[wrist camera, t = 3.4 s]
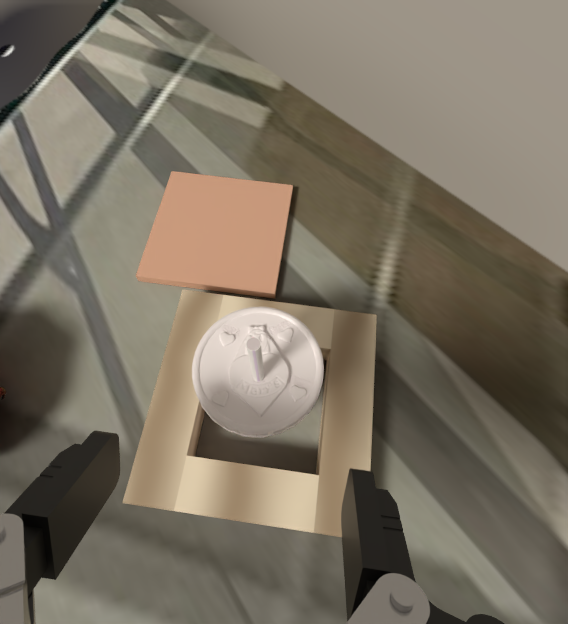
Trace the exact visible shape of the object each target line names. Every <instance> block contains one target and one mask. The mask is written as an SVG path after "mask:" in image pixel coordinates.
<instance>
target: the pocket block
mask: <svg viewBox="0 0 568 624" xmlns="http://www.w3.org/2000/svg"><path fill="white" fill-rule="evenodd" d="M249 307H270V308H275V309H279V310H282V311H284V312H287V313H289V314H291V315H293V316H294V317H296V318H297V319H299V320H300V321H301V322H302V323H304V324H305V325H306V326H307V327H308V328H309V330H310V331H311V332H312V334H313V335H314V337H315V338H316V340H317V342H318V344H319V347H320V349H321V353H322V357H323V360H327V362H326V372H325V383H324V393H323V404H322V414H321V425H320V435H319V445H318V456H317V466H316V475H314V474H307V473H300V472H294V471H287V470H280V469H274V468H267V467H260V466H254V465H247V464H240V463H233V462H227V461H220V460H213V459H207V458H200V457H195V455H196V450H197V446H198V441H199V437H200V432H201V428H202V423H203V418H204V414H205V410H204V409H203V408H202V406H201V403H200V401H199V399H198V397H197V395H196V392H195V389H194V385H193V380H192V363H193V358H194V354H195V351H196V348H197V346H198V344H199V342H200V340H201V339H202V337H203V335H204V334H205V333H206V332H207V330H208V329H209V328H210V327H211V326H212V325H213V324H214V323H215V322H217V321H218V320H219V319H221V318H222V317H224V316H226V315H228V314H230V313H232V312H234V311H237V310H240V309H244V308H249ZM376 322H377V315H374V314H367V313H359V312H351V311H344V310H336V309H328V308H321V307H313V306H305V305H297V304H290V303H282V302H274V301H267V300H259V299H251V298H244V297H236V296H228V295H221V294H213V293H205V292H197V291H190V290H182V294H181V297H180V301H179V304H178V308H177V311H176V315H175V318H174V322H173V325H172V329H171V333H170V336H169V340H168V343H167V347H166V350H165V354H164V357H163V361H162V365H161V368H160V372H159V375H158V379H157V382H156V386H155V389H154V393H153V396H152V400H151V404H150V407H149V411H148V414H147V418H146V421H145V425H144V428H143V432H142V436H141V439H140V443H139V446H138V450H137V453H136V457H135V460H134V464H133V467H132V471H131V475H130V478H129V482H128V485H127V489H126V492H125V496H124V499H123V503H126V504H133V505H139V506H145V507H152V508H158V509H165V510H171V511H178V512H184V513H190V514H197V515H203V516H210V517H216V518H223V519H229V520H235V521H242V522H248V523H255V524H261V525H267V526H274V527H280V528H287V529H293V530H300V531H306V532H312V533H319V534H325V535H332V536H338V537H342V529H341V511H342V503H343V498H344V493H345V488H346V483H347V478H348V473H349V470H350V468H352V469H359V470H366V471H370V468H371V443H372V419H373V395H374V370H375V346H376Z"/></svg>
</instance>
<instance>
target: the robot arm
mask: <svg viewBox="0 0 568 624" xmlns="http://www.w3.org/2000/svg"><path fill="white" fill-rule="evenodd" d="M119 475H120V453H119V437H118V435H117V434H115V433H108V432H101V431H94V432H92V433H91V434H90V435H89V436H88V438H87V439H86V440H85V441H84V442H83V443H82V445H80V444H74V445H72V446H71V447H69V448H67V449H66V450H64V451H62V452H61V453H59V454H58V456H57V457H56V458H55V459H54V460H53V461H52V462H51V463H50V464H49V467H46V469H45V470H44V471H43V472H42V473H41V474H40V476H39V477H37V478H36V479H35V480H34V482H33V483H32V484H31V485H30V486H29V487H28V488H27V489H26V490H25V491H24V492H23V493H22V495H21V496H20V497H19V498H18V499H17V500H16V501H15V502H14V503H13V504H12V505H11V506H10V508H9V509H8V510H7V511H6V512H5V513H4V514H0V624H36V622H35V602H34V590H33V589H34V587H35V586H36V584H37V583H38V581H39V580H40V579H41V577H42V578H48V579H55V580H56V578H57V577H58V575H59V574H60V572H61V571H62V569H63V568H64V566H65V564H66V563H67V561H68V560H69V558H70V557H71V555H72V554H73V552H74V551H75V549H76V547H77V546H78V544H79V543H80V541H81V540H82V538H83V537H84V535H85V534H86V532H87V530H88V529H89V527H90V526H91V524H92V523H93V521H94V520H95V518H96V516H97V515H98V513H99V512H100V510H101V509H102V507H103V506H104V504H105V503H106V501H107V499H108V498H109V496H110V495H111V493H112V492H113V490H114V488H115V487H116V484H117V482H118V479H119ZM341 529H342V545H343V560H344V576H345V591H346V607H347V623H346V624H504V623H503V622H501V621H500V620H498V619H496V618H494V617H492V616H488V615H484V614H477V615H473V616H472V617H470V618H469V619H468V620H467V622H465V621H462V620H460V619H458V618H456V617H454V616H452V615H450V614H448V613H446V612H444V611H442V610H440V609H439V608H437V607H436V606H434V605H433V604H432V603H431V602H430V601H428V599H427V597H426V595H425V593H424V592H423V590H422V589H421V588H420V587H419V585H418V584H417V583H416V581H415V578H414V574H413V570H412V566H411V562H410V557H409V553H408V549H407V545H406V541H405V536H404V533H403V528H402V524H401V521H400V515H399V511H398V507H397V503H396V502H395V500H394V499H393V497H392V496H391V495H390V493H389V492H388V490H383V489H376V486H375V481H374V475H373V472H372V471H366V470H359V469H352V468H350V470H349V473H348V478H347V483H346V488H345V493H344V498H343V503H342V511H341Z"/></svg>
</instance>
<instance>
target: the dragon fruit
mask: <svg viewBox="0 0 568 624" xmlns="http://www.w3.org/2000/svg"><path fill="white" fill-rule="evenodd" d="M5 394H6V390H5V389H4V388H3V387H0V397H1V396H2V399H4V398H5Z"/></svg>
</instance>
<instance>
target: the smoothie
mask: <svg viewBox="0 0 568 624" xmlns="http://www.w3.org/2000/svg"><path fill="white" fill-rule="evenodd" d="M323 374H324V365H323V357H322V353H321V349H320V347H319V344H318V342H317V340H316V338H315V337H314V335H313V334H312V332H311V331H310V330H309V328H308V327H307V326H306V325H305V324H304V323H302V322H301V321H300V320H299V319H297V318H296V317H294V316H293V315H291V314H289V313H287V312H284V311H282V310H279V309H275V308H270V307H249V308H244V309H240V310H237V311H234V312H232V313H230V314H228V315H226V316H224V317H222V318H221V319H219V320H218V321H217V322H215V323H214V324H213V325H212V326H211V327H210V328H209V329H208V330H207V332H206V333H205V334H204V335H203V337H202V339H201V340H200V342H199V344H198V346H197V348H196V351H195V354H194V358H193V363H192V380H193V385H194V389H195V392H196V395H197V397H198V399H199V401H200V403H201V406H202V408H203V409H204V410H205V411H206V413H207V414H208V415H209V416H210V418H211V419H212V420H213V421H214V422H216V423H217V424H218V425H220V426H221V427H223V428H224V429H226V430H227V431H230V432H233V433H235V434H238V435H241V436H244V437H261V438H263V437H267V436H272V435H277V434H280V433H282V432H284V431H286V430H288V429H290V428H292V427H294V426H296V425H297V424H298V423H299V422H300V421H301V420H302V419H303V418H304V417H306V416H307V415H308V414H309V412H310V411H311V409H312V408H313V406H314V404H315V403H316V401H317V400H318V397H319V394H320V390H321V387H322V383H323Z"/></svg>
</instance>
